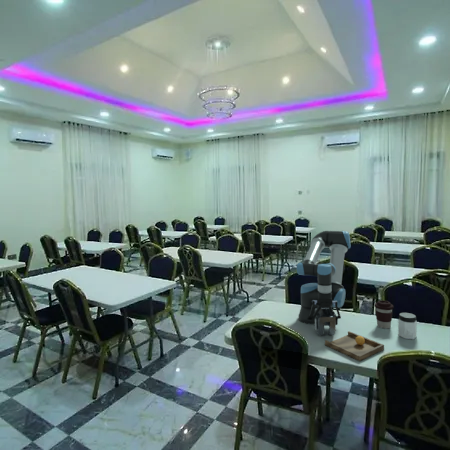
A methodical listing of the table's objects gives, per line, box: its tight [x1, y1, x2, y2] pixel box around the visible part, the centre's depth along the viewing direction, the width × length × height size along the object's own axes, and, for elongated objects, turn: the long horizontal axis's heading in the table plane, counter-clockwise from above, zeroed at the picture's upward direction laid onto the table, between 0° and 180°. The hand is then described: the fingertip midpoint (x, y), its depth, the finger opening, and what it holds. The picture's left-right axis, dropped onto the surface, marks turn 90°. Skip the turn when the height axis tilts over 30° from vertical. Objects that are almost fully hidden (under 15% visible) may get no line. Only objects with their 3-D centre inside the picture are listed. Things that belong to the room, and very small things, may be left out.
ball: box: [355, 335, 365, 345], centre depth 169 cm, size 5×5×5 cm
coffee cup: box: [374, 300, 394, 330], centre depth 191 cm, size 10×10×15 cm
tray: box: [324, 330, 385, 362], centre depth 168 cm, size 21×20×2 cm
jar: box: [397, 312, 418, 340], centre depth 178 cm, size 9×8×12 cm
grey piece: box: [313, 308, 337, 336], centre depth 184 cm, size 9×9×12 cm
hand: (325, 329), depth 184 cm, fingers closed on grey piece, 10 cm apart
